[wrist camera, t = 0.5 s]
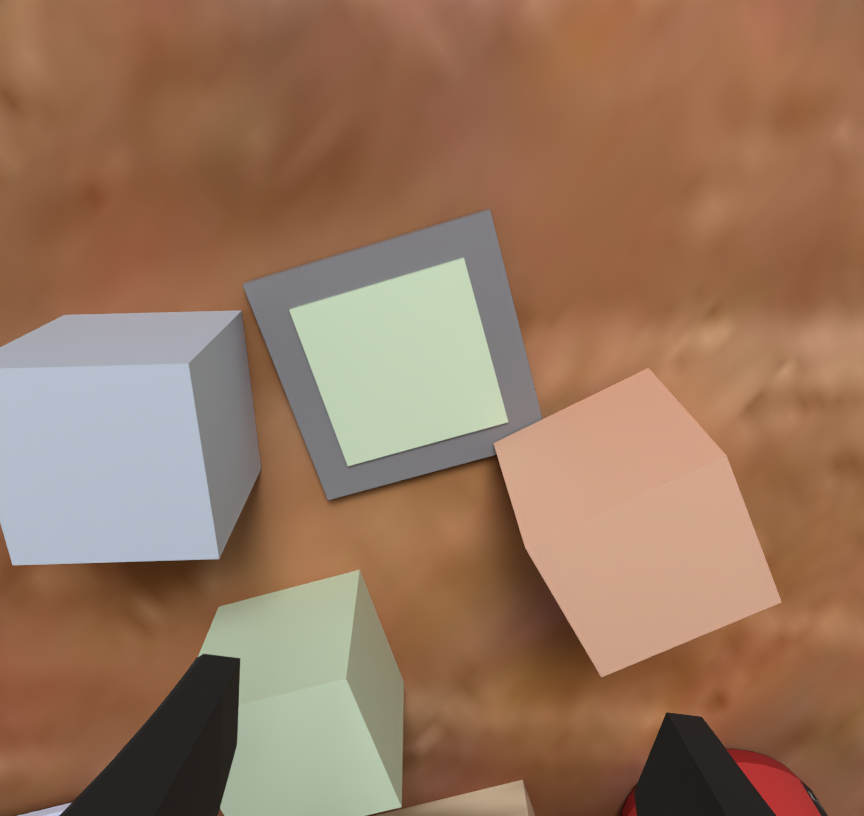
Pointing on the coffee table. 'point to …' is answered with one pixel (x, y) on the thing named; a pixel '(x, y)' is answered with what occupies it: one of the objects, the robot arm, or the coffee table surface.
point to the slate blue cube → (126, 437)
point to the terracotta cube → (634, 522)
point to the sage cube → (312, 702)
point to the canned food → (767, 786)
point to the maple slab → (477, 803)
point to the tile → (399, 354)
